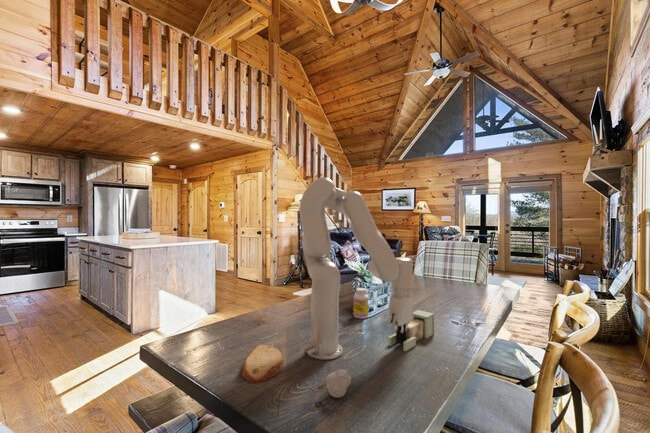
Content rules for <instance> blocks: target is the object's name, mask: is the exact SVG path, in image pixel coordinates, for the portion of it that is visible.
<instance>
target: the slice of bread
mask: <svg viewBox="0 0 650 433" xmlns="http://www.w3.org/2000/svg"><path fill="white" fill-rule="evenodd" d="M283 365H284V356H283V355H282V352H281V351H280V350H279V349H278V348H276V347H274V346H273V345H268V344H259V345H258V346H256V347H255V348H254V349H253V350H252V351H251V352H250V354H249V355H248V357H247V358H246V359H245V361H244V364H243V367H242V371H241V375H242V377H243V378H244V379H245V380H246V381H247V382H249V383H250V384H259V383H260V382H261V383H265V382H267V381H269V378H270V379H271V378H274V377H276V376H277V375H278V374H279V373H281V370H282V369H283V367H284V366H283ZM273 376H274V377H273Z"/></svg>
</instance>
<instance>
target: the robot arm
mask: <svg viewBox="0 0 650 433" xmlns="http://www.w3.org/2000/svg"><path fill="white" fill-rule="evenodd" d="M301 196H302V197H301V198H300V202H299V216H300V221H301V228H302V233H303V235H302V239H301V246H302V250H303V256H304V260H305V265H306V269H307V273H308V276H309V277H310V278H311V294H310V295H311V296H310V297H311V298H310V339H309V340H308V343H307V344H306V345H304V346H301V347H300V348H299V351H300V353H301V354H305V353H307V355H308V356H309V357H311V358H312V359H318V360H333V359H337V358H338V357H339V356H342V355H343V352H344V351H343V350H344V347H343V346H342V345H341V344H339V315H340V314H339V313H340V312H339V306H340V305H339V303H340V302H339V301H340V300H339V299H340V298H339V297H340V296H339V294H340V286H341V272H340V270H339V267H338V266H337V265H336V263H334V262H333V261H332V259H331V254H330V251H331V249H332V239H331V236H330V232H329V228H328V223H327V217H326V209H329V210H331V211H334V212H337V213H339V214H342V215H344V217H345V219H346V221H347V223H348V226H349V227H350V229H351V232H352V234H353V236H354V238H355V240H356V241H357V243H359V244H360V246H362V247H363V248H364V249H365V251H366V252H367V253H368V255H369V256H370V261H369V262H368V271H369V273H370V274H371V275H373V277H376V278H378V279H379V280H381V281H382V282H384V283H390V295H391V296H390V297H389V302H388V303H389V304H388V311H387V312H388V315H387V316H388V317H387V322H388V324H390V325H391V329H392V330H395V333H396V341H397V343H399V344H402V345H403V342H404V341H406V332H405V331H407V326H408V324H409V323H410V322H411V320H412V319H413V312H414V304H413V280H414V279H413V278H414V277H413V275H414V274H413V271H414V270H413V269H414V268H413V266H414V264H413V263H414V262H413V260H412V259H411V258H410V257H402V256H400V257H398V256H397V257H395V254H394V252H393V250H392V248H391V247H390V245H389V243H388V241H387V240H386V239H385V237H384V236H383V234H382V233H381V232H380V230H379V228H378V227H377V225H376V223H375V220H374V218H373V216H372V214H371V212H370V209H369V207H368V205H367V203H366V201H365V199H364V196H363V195H362V193H360V192H358V191H356V190H347V191H346V190H343V189H340V188H337V187H336V186H335V183H334V182H333V180H331V179H330V178H329V177H326V176H325V177H324V176H322V177H318V178H316V179H314V180H313V181H312V182H311V183H310V184H309V185H308V187H307V188H306V189H305V190H304V192H303V194H302V195H301Z"/></svg>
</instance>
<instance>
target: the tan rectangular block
mask: <svg viewBox="0 0 650 433" xmlns="http://www.w3.org/2000/svg"><path fill="white" fill-rule="evenodd" d="M405 332H406V340H408V339H410V338H412V337H416V342H417V341H419V340H420V339H422V338H424V332H425V319H422V318H417V319H415V320H413V321H410V323H409V324H408V326H407V331H405Z"/></svg>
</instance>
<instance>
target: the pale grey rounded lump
mask: <svg viewBox="0 0 650 433" xmlns="http://www.w3.org/2000/svg"><path fill="white" fill-rule="evenodd" d="M351 383H352V376H351V375H350V374H349V372H348V370H347V369H337V371H332V372H331V373H329V374H328V375H327V376H325V386H326V389H327V390H328V393H329V395H330V396H331V397H333V398H337V399H339V398H342V397H344V395H346V392H347V389H348V387H350V385H351Z"/></svg>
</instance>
